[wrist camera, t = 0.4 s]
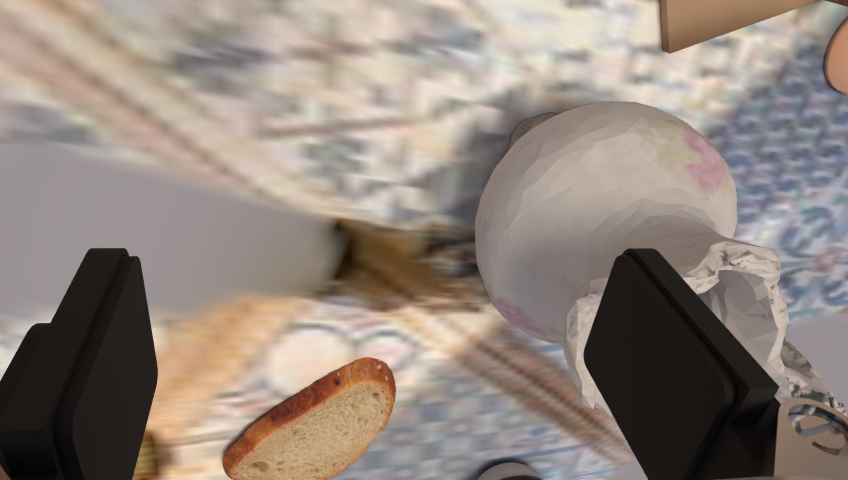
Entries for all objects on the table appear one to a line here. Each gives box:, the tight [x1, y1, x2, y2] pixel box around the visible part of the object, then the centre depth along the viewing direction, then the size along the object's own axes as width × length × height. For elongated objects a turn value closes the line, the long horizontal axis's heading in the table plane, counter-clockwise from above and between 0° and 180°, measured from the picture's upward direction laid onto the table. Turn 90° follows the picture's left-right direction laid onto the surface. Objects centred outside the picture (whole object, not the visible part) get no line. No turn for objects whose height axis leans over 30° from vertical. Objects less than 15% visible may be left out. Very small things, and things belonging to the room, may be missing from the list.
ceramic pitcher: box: [475, 102, 846, 423], centre depth 43 cm, size 22×20×25 cm
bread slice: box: [223, 357, 396, 480], centre depth 62 cm, size 18×18×4 cm
